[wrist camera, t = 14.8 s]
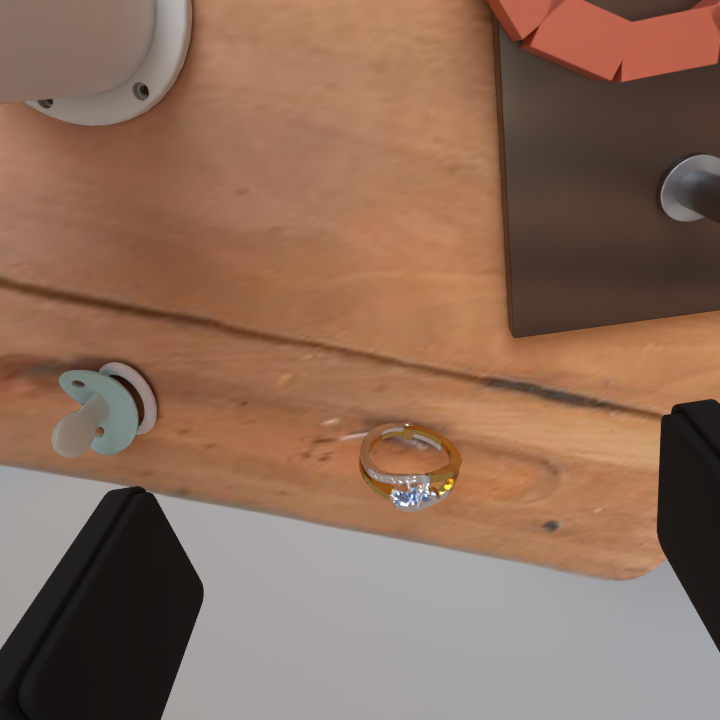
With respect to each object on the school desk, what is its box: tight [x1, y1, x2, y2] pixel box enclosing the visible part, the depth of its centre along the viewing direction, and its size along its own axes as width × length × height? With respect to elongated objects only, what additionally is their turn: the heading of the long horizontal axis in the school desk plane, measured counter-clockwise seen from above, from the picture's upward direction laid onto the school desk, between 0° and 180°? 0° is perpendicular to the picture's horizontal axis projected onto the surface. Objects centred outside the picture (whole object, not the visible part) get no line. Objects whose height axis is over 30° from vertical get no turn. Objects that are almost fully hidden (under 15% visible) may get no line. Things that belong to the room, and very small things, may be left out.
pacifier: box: [51, 362, 157, 458], centre depth 37 cm, size 7×6×6 cm
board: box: [492, 0, 720, 338], centre depth 27 cm, size 31×19×2 cm, turn 10°
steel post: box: [656, 153, 720, 224], centre depth 27 cm, size 4×4×6 cm
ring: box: [359, 421, 462, 512], centre depth 37 cm, size 7×3×8 cm, turn 81°
